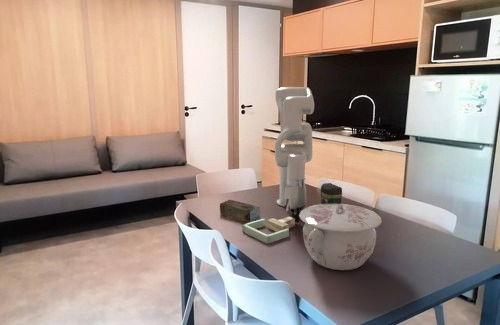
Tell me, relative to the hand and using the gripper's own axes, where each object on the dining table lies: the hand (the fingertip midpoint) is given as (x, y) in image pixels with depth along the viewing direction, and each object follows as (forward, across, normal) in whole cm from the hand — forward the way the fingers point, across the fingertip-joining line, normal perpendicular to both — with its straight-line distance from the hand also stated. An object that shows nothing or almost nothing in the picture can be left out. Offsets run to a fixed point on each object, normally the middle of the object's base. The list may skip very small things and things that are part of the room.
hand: (295, 221), depth 162 cm
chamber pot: (+1, +14, +34) cm, 37 cm away
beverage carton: (+2, +13, -24) cm, 27 cm away
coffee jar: (+1, -11, +11) cm, 15 cm away
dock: (+1, +18, 0) cm, 18 cm away
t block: (+1, +8, 0) cm, 8 cm away
